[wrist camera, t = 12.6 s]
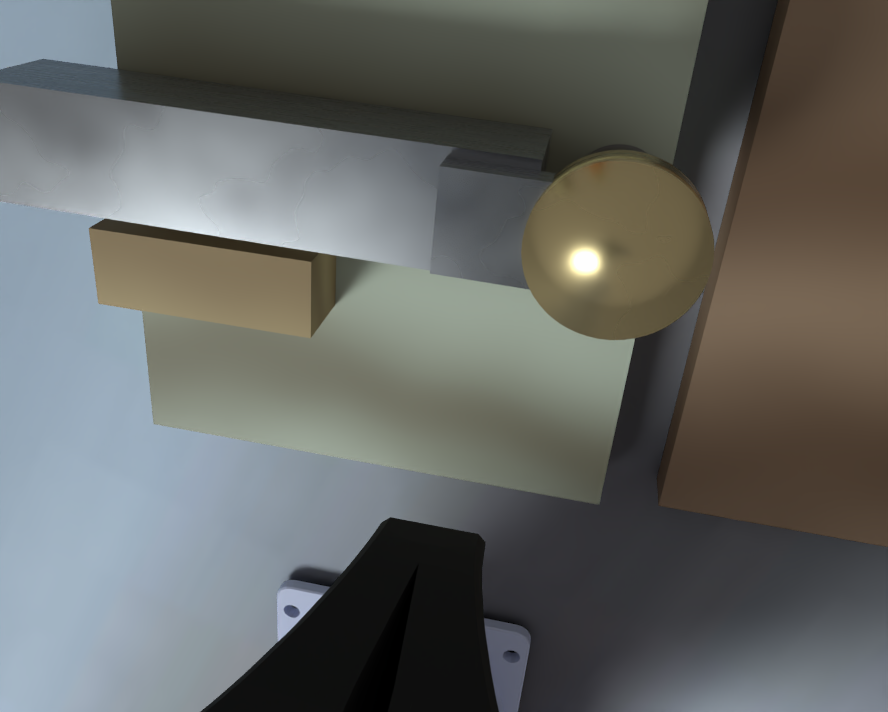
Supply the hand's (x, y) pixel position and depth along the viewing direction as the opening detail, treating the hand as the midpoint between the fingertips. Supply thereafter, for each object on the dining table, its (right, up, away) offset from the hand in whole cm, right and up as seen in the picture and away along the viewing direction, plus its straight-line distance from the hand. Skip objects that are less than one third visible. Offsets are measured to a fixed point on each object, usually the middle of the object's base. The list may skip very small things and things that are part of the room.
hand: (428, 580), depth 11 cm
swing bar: (-2, +7, +6) cm, 10 cm away
